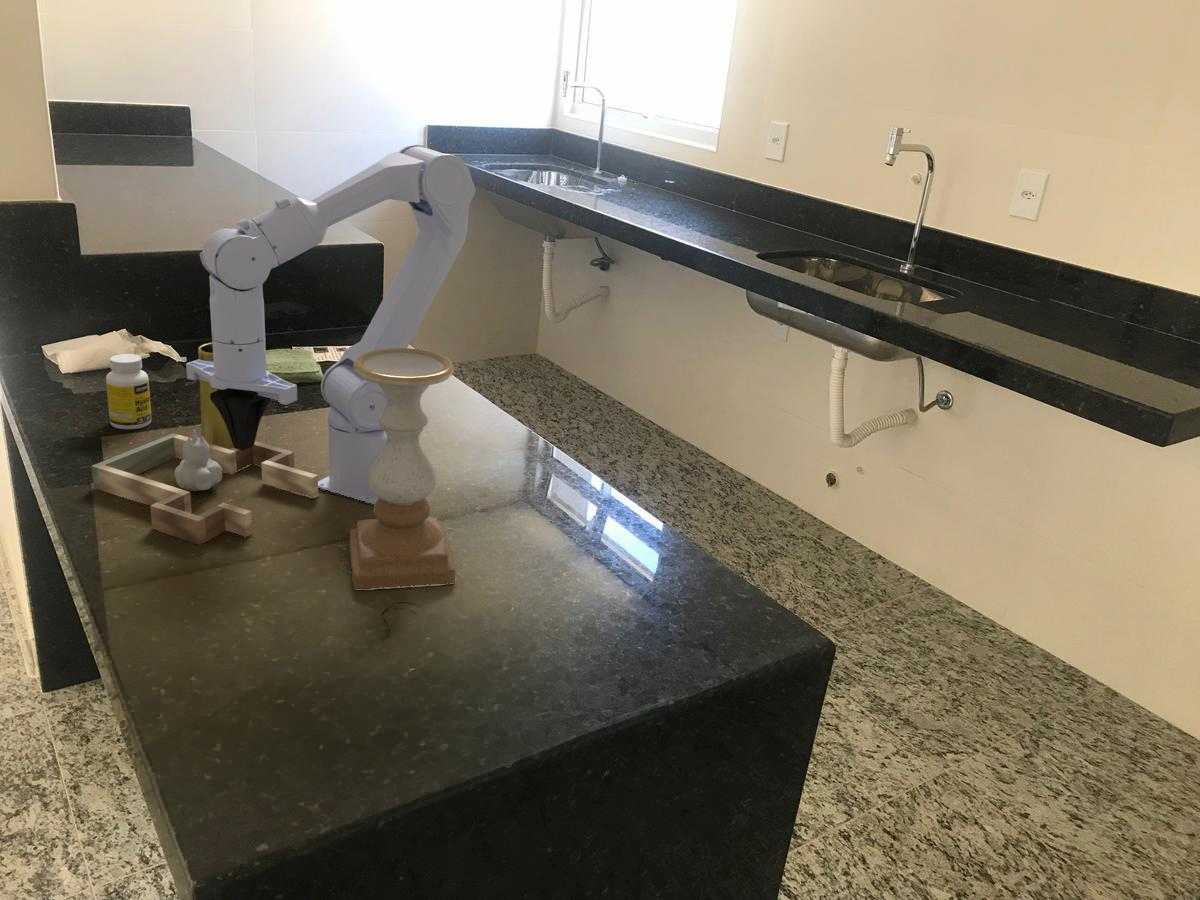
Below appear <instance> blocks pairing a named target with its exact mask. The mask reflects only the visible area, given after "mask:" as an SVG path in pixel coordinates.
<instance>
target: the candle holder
mask: <svg viewBox="0 0 1200 900" xmlns="http://www.w3.org/2000/svg"><path fill="white" fill-rule="evenodd" d="M354 370H355V372H356V373H357V374H358V376H360V377H361V378H363V379H365V380H367V381H370V382H373V383H377V384H379V386H380V388H381V389H382V390H383V391H384V393H385V395H386V399H387V404H386V407H385V409H384V411H383V412H382V413H381V414H380V415H379V417H378V422H379V424H380V425H381V426H383V430H384V431H385V433H386V435H387V442H386V445H385V447H384V448H383V450H382V452H381V453H380V454H379V456H378V457H377V459H376V460H375V461H374V463H373V465H372V466H371V469H370V471H369V475H368V484H369V487H370V489H371V491H372V492H373V493H374V494H375V495H376V496H377V497H378V498H379V499H378V500H377V501H376V502H375V505H373V515H374V517H375V518H371V519H361V520H358V521H357V524H356V528H352V529H350V532H349V557H351V559H350V570H351V569H352V571H351V581H353V583H352V587H354V588H355V589H371V588H380V587H382V588H384V587H397V586H400V587H402V586H411V585H413V586H415V585H426V584H429V585H431V584H447V583H448V584H450V583H454V582H455V583H456V567H455V566H456V565H455V561H454V558H453V553H452V550H451V546H450V543H449V538H448V536H447V532H446V530H445V527H444V526H443V525H441V522H440V521H439V518H438V517H433V516H430V513H431V507H430V504H429V501H428V500H427V499H426V498H427V497H428V496H429V495H430V494H431V493H432V492H433V491H434V490H435V487H436V484H437V475H436V470H435V468H434V466H433V464H432V462H431V461H430V459H429V458H428V456H427V455H426V454H425V452H424V450H423V449H422V447H421V445H420V441H419V440H420V439H419V438H420V435H421V433H422V432H423V431H424V428H425V427H426V426H427V425H428V423H429V417H428V416H427V415H426V414H425V412H424V411H423V408H422V405H421V399H422V396H423V395H424V393H425V391H427V390H428V388H429V386H432V385H437V384H441V383H442V382H445V381H447V380H448V379H449V378H450V377H451V376H452V375H453V374H454V373H453V372H454V370H455V369H454V363H453V362H452V360H450V359H449V357H446V356H445V355H443V354H440V353H439V352H434V351H429V350H425V349H418V348H410V347H407V348H387V349H379V350H373V351H369V352H366V353H363V354H361V355H360V356H358V357H357V358H356V359H355V361H354ZM455 583H454V584H455ZM354 588H353V589H354Z"/></svg>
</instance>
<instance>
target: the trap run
mask: <svg viewBox="0 0 1200 900" xmlns="http://www.w3.org/2000/svg"><path fill="white" fill-rule="evenodd" d="M188 438H189V436H185V435H181V434H177V433H174V432H173V433H171V434H167V435H166V436H163V437H160V438H158V439H156V440H153V441H150V442H148V443H145V444H143V445H140V446H138V447H136V448H133V449H130V450H127V451H125V452H123V453H120V454H118V455H115V456H112V457H110V458H107V459H106V460H102V461H101V462H98V463H95V464H92V465H91V474H92V481H93V482H92V483H93V489H96V490H98V491H102V492H104V493H107V494H111V495H115V496H117V497H120V498H123V497H124V498H123V499H126V498H127V499H126V500H129V499H130V501H132V500H134V501H133V502H135V501H137V502H136V503H138V502H141V503H145V504H147V505H151V506H149V507H150V508H149V510H150V518H151V519H150V520H151V527H152V528H154V529H156V530H155V531H157V530H159V531H158V532H160V531H161V532H160V533H162V534H166V533H167V534H166V535H168V536H172V535H173V536H172V537H175V538H177V537H178V538H177V539H180V540H184V541H186V540H187V542H189V541H190V543H193V544H196V545H198V544H199V546H201V545H202V543H203V544H204V543H206V542H208V541H210V540H212V539H213V538H216V537H218V536H219V535H221V534H223V533H224V532H223V531H225V530H226V531H225V532H227V531H230V532H233V533H236V534H239V535H243V536H248V535H250V534H251V533H252V534H253V525H252V524H253V523H252V521H253V519H252V510H248V509H245V508H242V507H239V506H236V505H232V504H230V503H226V502H221V503H220V504H218V505H216V506H214V507H212V508H211V509H210V508H209V509H208V510H206V511H204V512H203V513H201V514H199V515H198V514H194V513H192V499H191V491H189V490H186V489H183V488H179V487H175V486H172V485H169V484H166V483H163V482H159V481H157V480H153V479H150V478H146V477H144V476H140V475H139V474H141V473H143V471H144V472H145V470H146V471H148V470H150V469H152V467H153V468H155V467H157V466H159V464H160V465H161V463H162V464H165V463H167V462H169V461H171V460H173V458H174V459H177V458H179V459H178V460H180V459H181V461H182V460H184V457H183V446H184V444H185V443H186V441H187V439H188ZM190 439H192V437H190ZM208 445H209V447H210V457H209V458H210V459H211V460H213V461H216V462H217V463H218V464H219V465H220V467H221V468H222V471H223V472H222V473H224V472H227V473H231V474H232V473H234V472H235V471H238V470H239V469H242V468H243V467H246V466H247V465H250V464H257V465H260V466H261V467H260V468H261V482H263V483H267V484H270V485H273V486H276V487H279V488H284V489H287V490H289V491H293V492H297V493H300V494H304V495H308V496H311V497H314V496H315V495H317V494H318V495H319V489H318V482H319V475H318V474H316V473H312V472H308V471H305V470H301V469H298V468H295V458H294V457H295V456H294V455H295V453H294V451H291V450H288V449H284V448H281V447H278V446H274V445H271V444H267V443H263V442H260V441H257V440H255V443H254V446H252V447H250V448H248V449H246V450H243V451H242V450H238V449H235V448H232V449H226V448H223V447H219V446H216V445H212V444H209V443H208ZM168 460H169V461H168ZM166 461H167V462H166ZM156 465H157V466H156ZM154 466H155V467H154ZM149 468H150V469H149ZM147 469H148V470H147ZM140 472H141V473H140ZM138 473H139V474H138ZM227 473H226V474H227ZM136 474H137V475H136ZM234 474H235V473H234ZM232 475H233V474H232ZM141 503H140V504H141ZM147 505H146V506H147ZM191 513H192V514H191ZM152 528H151V529H152ZM154 529H153V530H154ZM222 532H223V533H222ZM230 532H229V533H230ZM220 533H221V534H220ZM233 533H232V534H233ZM236 534H235V535H236ZM239 535H238V536H239ZM215 536H216V537H215ZM250 536H251V535H250ZM248 537H249V536H248Z"/></svg>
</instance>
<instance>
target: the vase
mask: <svg viewBox="0 0 1200 900" xmlns="http://www.w3.org/2000/svg"><path fill="white" fill-rule="evenodd" d="M197 350H198V351H197V352H198V360H203V361H208V362H214V360H213V343H212V342H208V343H204V344H201V345H200V346H198V349H197ZM199 391H200V393H199V396H200V398H199V399H200V423H201V429H200V431H201V432H200V433H201V434H200V435H201V436H203V438H204V439H205V441H206V442H207V443H209V444H212V445H216V446H219V447H223V448H226V449H232V448H234V446H233V443H232V441H231V438H230V435H229V432H228V429H227V427H226V424H225V422H224V420H223V418H222V416H221V414H220V412H219V411H218V409H217V408H216V406H215V405H214V404H213V402H212V401H211V400H210V394H211V393H212V392H215V391H217V388H213V387H211V385H210V382H208V381H204V380H200V379H199Z"/></svg>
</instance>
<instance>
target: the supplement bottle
mask: <svg viewBox="0 0 1200 900" xmlns="http://www.w3.org/2000/svg"><path fill="white" fill-rule="evenodd" d="M142 360H143V359H142V357H141V356H140V355H137V354H132V353H122V354H116V355H113V356H111V357H110V358H109V364H110V370H111V371H110V372H108V373H107V375H106V377H105V383H106V384H105V385H106V386H105V387H106V397H107V405H108V416H109V423H110V425H111V426H112V427H113V428H116V429H119V430H137V429H142V428H145V427H148V426H149V425H150V424H151V423H152V420H153V419H152V408H151V407H152V406H151V393H150V381H149V380H150V379H149V376H148V374H147V372H145V370H142V368H143V361H142Z"/></svg>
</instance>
